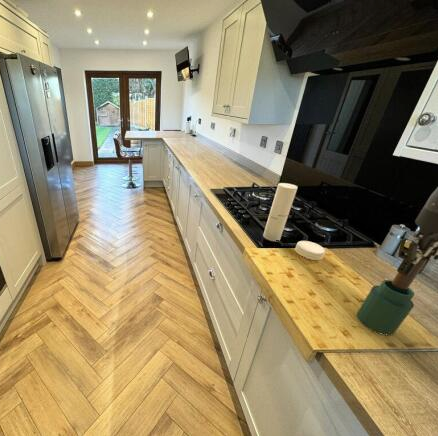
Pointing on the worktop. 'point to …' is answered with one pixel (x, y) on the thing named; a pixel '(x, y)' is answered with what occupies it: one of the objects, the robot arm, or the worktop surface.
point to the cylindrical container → (279, 211)
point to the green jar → (385, 307)
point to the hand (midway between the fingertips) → (408, 272)
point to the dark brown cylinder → (406, 281)
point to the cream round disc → (310, 250)
